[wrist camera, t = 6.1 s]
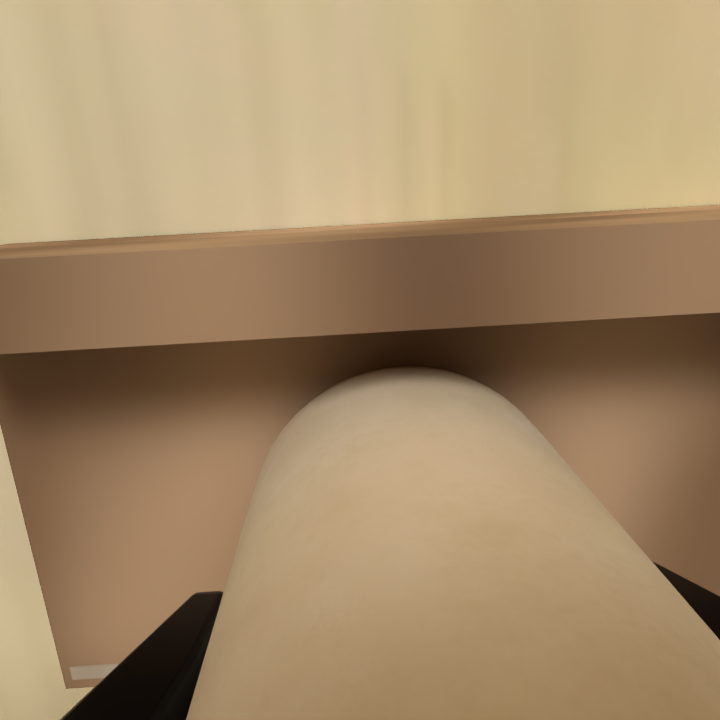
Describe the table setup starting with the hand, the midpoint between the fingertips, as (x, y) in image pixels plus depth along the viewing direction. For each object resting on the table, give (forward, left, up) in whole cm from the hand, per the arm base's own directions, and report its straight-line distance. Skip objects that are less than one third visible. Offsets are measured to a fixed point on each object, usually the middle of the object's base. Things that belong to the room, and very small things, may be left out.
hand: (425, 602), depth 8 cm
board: (-1, -1, -4) cm, 4 cm away
